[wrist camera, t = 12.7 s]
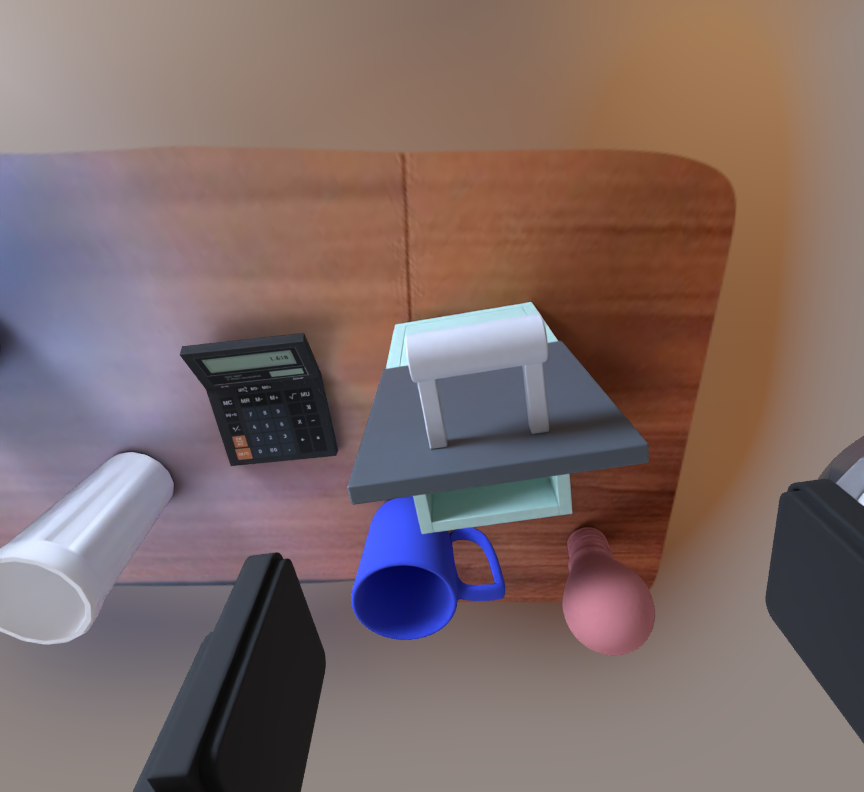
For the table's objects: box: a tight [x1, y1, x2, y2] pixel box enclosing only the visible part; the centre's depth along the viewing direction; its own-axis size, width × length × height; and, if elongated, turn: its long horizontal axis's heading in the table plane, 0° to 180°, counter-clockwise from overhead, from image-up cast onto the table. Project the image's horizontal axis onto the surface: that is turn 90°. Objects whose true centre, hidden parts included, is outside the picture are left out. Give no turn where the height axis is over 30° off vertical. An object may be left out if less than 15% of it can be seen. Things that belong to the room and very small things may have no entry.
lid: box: [347, 313, 649, 505], centre depth 24 cm, size 14×11×5 cm
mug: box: [351, 496, 505, 640], centre depth 45 cm, size 8×12×10 cm
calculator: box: [180, 333, 338, 466], centre depth 42 cm, size 9×12×3 cm
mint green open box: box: [386, 302, 572, 534], centre depth 39 cm, size 13×11×10 cm
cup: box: [0, 452, 174, 644], centre depth 41 cm, size 8×8×14 cm
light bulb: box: [563, 527, 655, 656], centre depth 45 cm, size 7×7×12 cm
